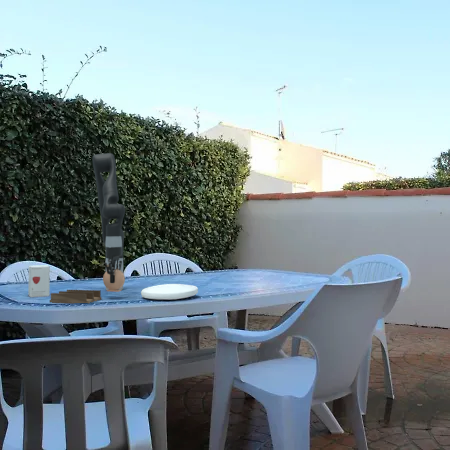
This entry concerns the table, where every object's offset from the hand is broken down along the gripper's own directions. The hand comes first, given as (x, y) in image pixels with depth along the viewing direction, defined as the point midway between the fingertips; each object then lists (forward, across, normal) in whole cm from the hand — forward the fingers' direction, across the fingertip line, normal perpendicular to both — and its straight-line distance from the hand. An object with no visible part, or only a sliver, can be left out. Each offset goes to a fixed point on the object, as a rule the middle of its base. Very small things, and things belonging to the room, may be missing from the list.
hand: (113, 282), depth 228 cm
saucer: (+4, 0, 0) cm, 4 cm away
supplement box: (+8, -2, -41) cm, 42 cm away
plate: (+8, -8, +25) cm, 28 cm away
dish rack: (+7, +11, -13) cm, 19 cm away
